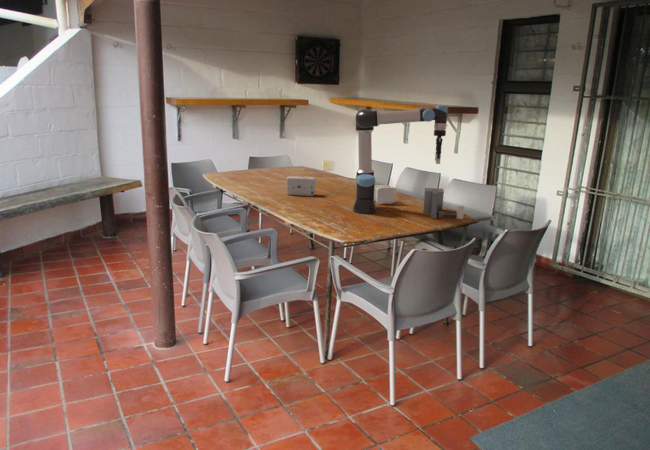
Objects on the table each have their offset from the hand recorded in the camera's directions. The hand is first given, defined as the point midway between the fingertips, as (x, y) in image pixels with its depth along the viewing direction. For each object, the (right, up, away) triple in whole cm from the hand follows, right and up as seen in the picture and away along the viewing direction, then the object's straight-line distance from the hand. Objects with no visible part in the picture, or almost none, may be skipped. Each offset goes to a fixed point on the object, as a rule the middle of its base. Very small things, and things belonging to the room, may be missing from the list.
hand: (437, 162), depth 345 cm
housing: (-4, -34, -4) cm, 34 cm away
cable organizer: (-33, -26, +25) cm, 49 cm away
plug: (+6, -36, -12) cm, 39 cm away
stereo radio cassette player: (-92, -19, +44) cm, 104 cm away
